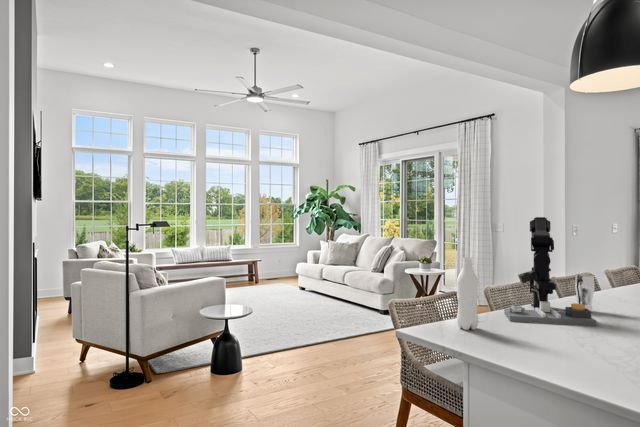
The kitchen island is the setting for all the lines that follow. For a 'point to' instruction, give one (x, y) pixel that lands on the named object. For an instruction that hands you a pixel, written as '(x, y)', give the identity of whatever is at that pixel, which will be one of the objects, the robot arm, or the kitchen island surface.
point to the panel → (551, 316)
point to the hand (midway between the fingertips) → (541, 304)
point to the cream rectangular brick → (545, 306)
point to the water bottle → (467, 296)
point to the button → (578, 307)
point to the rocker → (516, 307)
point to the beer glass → (585, 290)
